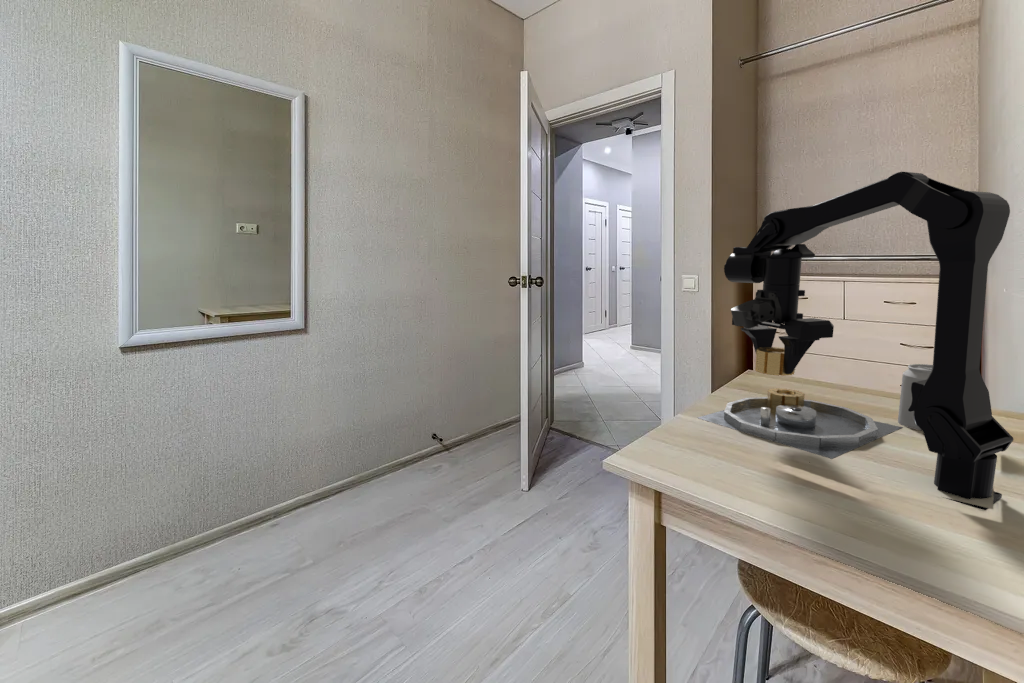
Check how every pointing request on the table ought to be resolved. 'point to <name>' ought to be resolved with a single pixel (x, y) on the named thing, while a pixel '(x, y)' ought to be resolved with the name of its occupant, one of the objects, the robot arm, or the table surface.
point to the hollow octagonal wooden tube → (771, 361)
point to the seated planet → (784, 398)
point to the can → (910, 376)
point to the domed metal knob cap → (795, 416)
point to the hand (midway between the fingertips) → (774, 369)
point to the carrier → (827, 438)
